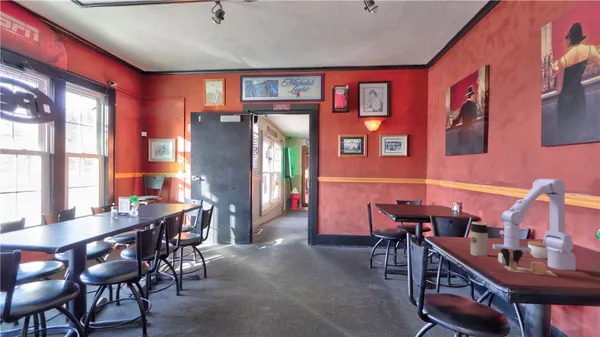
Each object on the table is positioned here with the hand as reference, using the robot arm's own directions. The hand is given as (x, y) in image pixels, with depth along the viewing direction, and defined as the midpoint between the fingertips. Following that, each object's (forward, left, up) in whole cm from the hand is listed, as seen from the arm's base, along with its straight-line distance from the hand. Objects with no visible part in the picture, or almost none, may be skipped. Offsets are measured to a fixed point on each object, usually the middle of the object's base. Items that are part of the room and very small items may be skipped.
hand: (511, 266), depth 133 cm
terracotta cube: (-11, 0, -1) cm, 11 cm away
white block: (-7, -10, -2) cm, 13 cm away
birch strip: (-7, 0, -2) cm, 7 cm away
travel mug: (+7, -24, -3) cm, 25 cm away
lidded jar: (-25, -34, -3) cm, 42 cm away
